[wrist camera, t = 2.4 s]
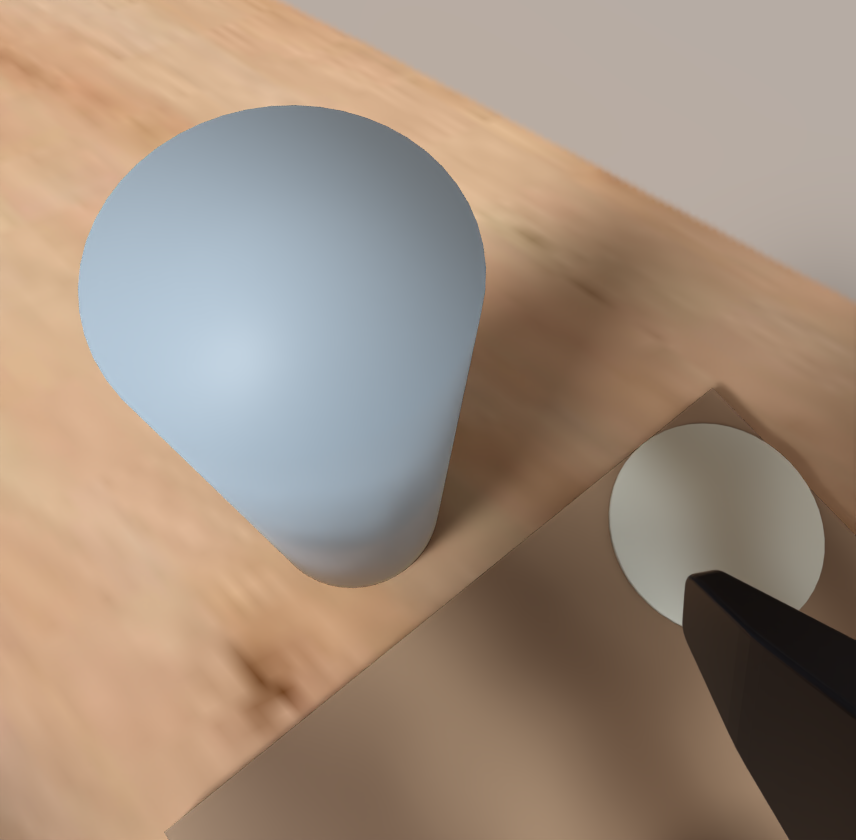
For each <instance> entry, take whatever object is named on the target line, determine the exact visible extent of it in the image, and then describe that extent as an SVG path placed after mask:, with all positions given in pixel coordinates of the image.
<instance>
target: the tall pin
mask: <svg viewBox="0 0 856 840" xmlns="http://www.w3.org/2000/svg"><path fill="white" fill-rule="evenodd" d="M485 278H486V265H485V256H484V248H483V243H482V239H481V235H480V232H479V228H478V224H477V222H476V219H475V217H474V215H473V212H472V210H471V208H470V206H469V203H468V202H467V200H466V198H465V197H464V195H463V193H462V192H461V190H460V189H459V187H458V185H457V184H456V183H455V181H454V180H453V179H452V178H451V176H450V175H449V174H448V173H447V172H446V170H445V169H444V168H443V167H442V166H441V165H440V164H439V163H438V162H437V161H436V160H435V159H434V158H433V157H432V156H431V155H430V154H428V153H427V152H426V151H425V150H424V149H422V148H421V147H420V146H418V145H417V144H415V143H414V142H413V141H411V140H410V139H408V138H407V137H405V136H403V135H402V134H400V133H398V132H396V131H394V130H393V129H391V128H389V127H387V126H385V125H382V124H380V123H377V122H375V121H373V120H370V119H368V118H365V117H362V116H358V115H355V114H351V113H348V112H344V111H340V110H334V109H328V108H322V107H312V106H297V105H291V106H269V107H262V108H255V109H248V110H243V111H239V112H235V113H231V114H227V115H223V116H220V117H218V118H215V119H212V120H209V121H207V122H204V123H201V124H199V125H197V126H195V127H193V128H191V129H189V130H186V131H184V132H182V133H180V134H178V135H177V136H175V137H173V138H172V139H170V140H169V141H167V142H166V143H164V144H162V145H161V146H159V147H158V148H156V149H155V150H154V151H153V152H151V153H150V154H149V155H148V156H146V157H145V158H144V159H143V160H141V161H140V162H139V163H138V164H137V165H136V166H135V167H134V168H133V169H132V170H131V171H130V172H129V173H128V174H127V175H126V176H125V177H124V178H123V179H122V180H121V181H120V183H119V184H118V185H117V187H116V188H115V189H114V191H113V192H112V193H111V194H110V196H109V197H108V198H107V200H106V202H105V203H104V205H103V207H102V208H101V210H100V212H99V214H98V215H97V217H96V219H95V221H94V223H93V226H92V228H91V231H90V233H89V236H88V238H87V241H86V244H85V248H84V252H83V256H82V260H81V264H80V273H79V284H78V296H79V312H80V317H81V321H82V326H83V331H84V335H85V338H86V340H87V343H88V345H89V348H90V351H91V353H92V356H93V358H94V360H95V362H96V363H97V365H98V367H99V368H100V370H101V372H102V374H103V375H104V377H105V379H106V380H107V381H108V383H109V384H110V385H111V386H112V388H113V389H114V390H115V391H116V392H117V394H118V395H119V396H120V397H121V399H122V400H123V401H124V402H125V403H126V404H128V405H129V406H130V407H131V408H132V409H133V410H134V411H135V412H136V413H137V414H138V415H139V416H140V417H141V418H142V419H143V420H144V421H145V422H146V423H147V424H148V425H149V426H150V427H151V428H152V429H153V430H154V431H155V432H156V433H158V434H159V435H160V436H161V437H162V438H163V439H164V440H165V441H166V442H167V443H168V444H169V445H170V446H171V447H172V448H173V449H174V450H175V451H176V452H177V453H178V454H179V455H180V456H181V457H182V458H183V459H184V460H185V461H187V462H188V463H189V464H190V465H191V466H192V467H193V468H194V469H195V470H196V471H197V472H198V473H199V474H200V475H201V476H202V477H203V478H204V479H205V480H206V481H207V482H208V483H209V484H210V485H211V486H212V487H213V488H214V489H216V490H217V491H218V492H219V493H220V494H221V495H222V496H223V497H224V498H225V499H226V500H227V501H228V502H229V503H230V504H231V505H232V506H233V507H234V508H235V509H236V510H237V511H238V512H239V513H240V514H241V515H242V516H243V517H245V518H246V519H247V520H248V521H249V522H250V523H251V524H252V525H253V526H254V527H255V528H256V529H257V530H258V531H259V532H260V533H261V534H262V535H263V536H264V537H265V538H266V539H267V540H268V541H269V542H270V543H271V544H272V545H274V546H275V547H276V548H277V549H278V550H279V551H280V552H281V553H282V554H283V555H284V556H285V557H286V558H287V559H288V560H289V561H290V562H291V563H292V564H293V565H294V566H296V567H297V568H298V569H299V570H300V571H302V572H303V573H304V574H306V575H307V576H309V577H311V578H313V579H315V580H317V581H319V582H322V583H325V584H328V585H332V586H337V587H346V588H357V587H366V586H371V585H376V584H378V583H381V582H384V581H387V580H389V579H391V578H393V577H395V576H396V575H398V574H399V573H401V572H402V571H404V570H405V569H407V568H408V567H409V566H410V565H411V564H412V563H413V562H414V561H415V560H416V559H417V558H418V557H419V556H420V554H421V553H422V552H423V550H424V549H425V547H426V546H427V544H428V542H429V540H430V538H431V536H432V534H433V531H434V528H435V525H436V522H437V517H438V512H439V508H440V503H441V498H442V494H443V489H444V484H445V480H446V475H447V470H448V466H449V461H450V456H451V451H452V447H453V442H454V437H455V433H456V428H457V423H458V419H459V414H460V409H461V405H462V400H463V395H464V391H465V386H466V381H467V376H468V372H469V367H470V362H471V358H472V353H473V348H474V344H475V339H476V334H477V330H478V325H479V320H480V315H481V310H482V305H483V299H484V294H485Z"/></svg>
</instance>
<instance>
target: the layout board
mask: <svg viewBox="0 0 856 840" xmlns="http://www.w3.org/2000/svg"><path fill="white" fill-rule="evenodd" d="M709 570H721V571H723V572H726V573H728V574H729V575H731V576H733V577H735V578H737V579H739V580H741V581H743V582H745V583H747V584H749V585H751V586H753V587H755V588H757V589H758V590H760V591H762V592H764V593H766V594H768V595H770V596H772V597H774V598H776V599H778V600H780V601H782V602H784V603H786V604H787V605H789V606H791V607H793V608H795V609H797V610H799V611H801V612H803V613H805V614H807V615H809V616H811V617H813V618H815V619H817V620H818V621H820V622H822V623H824V624H826V625H828V626H830V627H832V628H834V629H836V630H838V631H840V632H842V633H844V634H846V635H847V636H849V637H851V638H853V639H855V640H856V536H855V535H854V534H853V532H852V531H851V530H850V529H849V528H848V527H847V526H846V525H845V524H844V523H843V522H842V521H841V520H840V519H839V518H838V517H837V516H836V515H835V514H834V513H833V512H832V511H831V510H830V509H829V508H828V507H827V506H826V505H825V504H824V503H823V501H822V500H821V499H820V498H819V497H818V496H817V495H816V494H815V493H814V492H813V491H812V490H811V489H810V488H809V487H808V485H807V484H806V482H805V481H804V479H803V478H802V476H801V475H800V474H799V472H798V471H797V470H796V469H795V468H794V466H793V465H792V464H791V463H790V462H789V461H788V460H787V459H786V458H785V457H784V456H783V455H782V454H780V453H779V452H778V451H777V450H775V449H774V448H773V447H771V446H770V445H769V444H767V443H766V442H764V440H763V439H762V438H761V437H760V436H759V435H758V434H757V433H756V432H755V431H754V430H753V429H752V428H751V427H750V426H749V425H748V424H747V423H746V422H745V421H744V420H743V419H742V418H741V417H740V416H739V415H738V414H737V413H736V412H735V411H734V409H733V408H732V407H731V406H730V405H729V404H728V403H727V402H726V401H725V400H724V399H723V398H722V397H721V396H720V395H719V394H718V393H717V392H716V391H715V390H714V389H713V388H712V389H710V390H709V391H708V392H707V393H705V394H704V395H703V396H702V397H701V398H699V399H698V400H697V401H696V402H694V403H693V404H692V405H691V406H689V407H688V408H687V409H686V410H684V411H683V412H682V413H681V414H680V415H678V416H677V417H676V418H675V419H673V420H672V421H671V422H670V423H668V424H667V425H666V426H665V427H663V428H662V429H661V430H660V431H659V432H657V433H656V434H655V435H654V436H652V437H651V438H650V439H649V440H647V441H646V442H645V443H643V444H642V445H641V446H640V447H639V448H638V449H636V450H635V451H634V452H633V453H631V454H630V455H629V456H628V457H626V458H625V459H624V460H623V461H622V462H620V463H619V464H618V465H617V466H615V467H614V468H613V469H612V470H610V471H609V472H608V473H607V474H606V475H604V476H603V477H602V478H601V479H599V480H598V481H597V482H596V483H594V484H593V485H592V486H591V487H589V488H588V489H587V490H586V491H585V492H583V493H582V494H581V495H580V496H578V497H577V498H576V499H575V500H573V501H572V502H571V503H570V504H569V505H567V506H566V507H565V508H564V509H562V510H561V511H560V512H559V513H557V514H556V515H555V516H554V517H552V518H551V519H550V520H549V521H548V522H546V523H545V524H544V525H543V526H541V527H540V528H539V529H538V530H536V531H535V532H534V533H533V534H532V535H530V536H529V537H528V538H527V539H525V540H524V541H523V542H522V543H520V544H519V545H518V546H517V547H515V548H514V549H513V550H512V551H511V552H509V553H508V554H507V555H506V556H504V557H503V558H502V559H501V560H499V561H498V562H497V563H496V564H494V565H493V566H492V567H491V568H490V569H488V570H487V571H486V572H485V573H483V574H482V575H481V576H480V577H478V578H477V579H476V580H475V581H474V582H472V583H471V584H470V585H469V586H467V587H466V588H465V589H464V590H462V591H461V592H460V593H459V594H457V595H456V596H455V597H454V598H453V599H451V600H450V601H449V602H448V603H446V604H445V605H444V606H443V607H441V608H440V609H439V610H438V611H437V612H435V613H434V614H433V615H432V616H430V617H429V618H428V619H427V620H425V621H424V622H423V623H422V624H420V625H419V626H418V627H417V628H416V629H414V630H413V631H412V632H411V633H409V634H408V635H407V636H406V637H404V638H403V639H402V640H401V641H400V642H398V643H397V644H396V645H395V646H393V647H392V648H391V649H390V650H388V651H387V652H386V653H385V654H383V655H382V656H381V657H380V658H379V659H377V660H376V661H375V662H374V663H372V664H371V665H370V666H369V667H367V668H366V669H365V670H364V671H363V672H361V673H360V674H359V675H358V676H356V677H355V678H354V679H353V680H351V681H350V682H349V683H348V684H346V685H345V686H344V687H343V688H342V689H340V690H339V691H338V692H337V693H335V694H334V695H333V696H332V697H330V698H329V699H328V700H327V701H325V702H324V703H323V704H322V705H321V706H319V707H318V708H317V709H316V710H314V711H313V712H312V713H311V714H309V715H308V716H307V717H306V718H305V719H303V720H302V721H301V722H300V723H298V724H297V725H296V726H295V727H293V728H292V729H291V730H290V731H288V732H287V733H286V734H285V735H284V736H282V737H281V738H280V739H279V740H277V741H276V742H275V743H274V744H272V745H271V746H270V747H269V748H268V749H266V750H265V751H264V752H263V753H261V754H260V755H259V756H258V757H256V758H255V759H254V760H253V761H251V762H250V763H249V764H248V765H247V766H245V767H244V768H243V769H242V770H240V771H239V772H238V773H237V774H235V775H234V776H233V777H232V778H231V779H229V780H228V781H227V782H226V783H224V784H223V785H222V786H221V787H219V788H218V789H217V790H216V791H214V792H213V793H212V794H211V795H210V796H208V797H207V798H206V799H205V800H203V801H202V802H201V803H200V804H198V805H197V806H196V807H195V808H194V809H192V810H191V811H190V812H189V813H187V814H186V815H185V816H184V817H182V818H181V819H180V820H179V821H177V822H176V823H175V824H174V825H173V826H171V827H170V828H169V829H168V830H166V831H165V832H164V833H165V834H166V836H167V838H168V840H789V839H788V837H787V835H786V834H785V832H784V830H783V829H782V827H781V825H780V823H779V822H778V820H777V818H776V817H775V815H774V813H773V812H772V810H771V808H770V807H769V805H768V803H767V801H766V800H765V798H764V796H763V795H762V793H761V791H760V790H759V788H758V786H757V785H756V783H755V781H754V779H753V778H752V776H751V774H750V773H749V771H748V769H747V768H746V766H745V764H744V762H743V760H742V759H741V757H740V755H739V753H738V752H737V750H736V748H735V746H734V744H733V742H732V740H731V738H730V736H729V734H728V731H727V729H726V727H725V725H724V723H723V721H722V718H721V716H720V714H719V712H718V710H717V707H716V705H715V703H714V701H713V699H712V697H711V694H710V692H709V690H708V688H707V686H706V683H705V681H704V679H703V677H702V675H701V672H700V670H699V668H698V666H697V664H696V662H695V659H694V657H693V655H692V653H691V651H690V648H689V646H688V644H687V642H686V639H685V636H684V632H683V627H682V617H683V604H684V590H685V582H686V579H687V577H688V576H689V575H691V574H693V573H698V572H704V571H709Z"/></svg>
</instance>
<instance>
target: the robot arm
mask: <svg viewBox="0 0 856 840" xmlns="http://www.w3.org/2000/svg"><path fill="white" fill-rule="evenodd" d="M682 627H683V632H684V636H685V639H686V642H687V644H688V646H689V648H690V651H691V653H692V655H693V657H694V659H695V662H696V664H697V666H698V668H699V670H700V672H701V675H702V677H703V679H704V681H705V683H706V686H707V688H708V690H709V692H710V694H711V697H712V699H713V701H714V703H715V705H716V707H717V710H718V712H719V714H720V716H721V718H722V721H723V723H724V725H725V727H726V729H727V731H728V734H729V736H730V738H731V740H732V742H733V744H734V746H735V748H736V750H737V752H738V753H739V755H740V757H741V759H742V760H743V762H744V764H745V766H746V768H747V769H748V771H749V773H750V774H751V776H752V778H753V779H754V781H755V783H756V785H757V786H758V788H759V790H760V791H761V793H762V795H763V796H764V798H765V800H766V801H767V803H768V805H769V807H770V808H771V810H772V812H773V813H774V815H775V817H776V818H777V820H778V822H779V823H780V825H781V827H782V829H783V830H784V832H785V834H786V835H787V837H788V839H789V840H856V640H855V639H853V638H851V637H849V636H847V635H846V634H844V633H842V632H840V631H838V630H836V629H834V628H832V627H830V626H828V625H826V624H824V623H822V622H820V621H818V620H817V619H815V618H813V617H811V616H809V615H807V614H805V613H803V612H801V611H799V610H797V609H795V608H793V607H791V606H789V605H787V604H786V603H784V602H782V601H780V600H778V599H776V598H774V597H772V596H770V595H768V594H766V593H764V592H762V591H760V590H758V589H757V588H755V587H753V586H751V585H749V584H747V583H745V582H743V581H741V580H739V579H737V578H735V577H733V576H731V575H729V574H728V573H726V572H723V571H721V570H709V571H704V572H698V573H693V574H691V575H689V576H688V577H687V579H686V582H685V590H684V604H683V617H682Z"/></svg>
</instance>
